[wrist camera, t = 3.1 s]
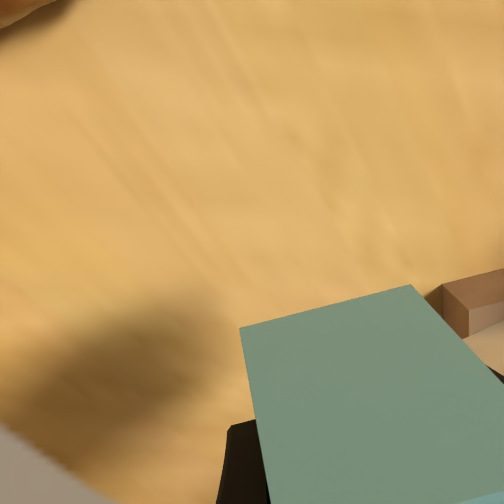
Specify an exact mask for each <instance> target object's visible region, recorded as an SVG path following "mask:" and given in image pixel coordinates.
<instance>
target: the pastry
mask: <svg viewBox="0 0 504 504" xmlns="http://www.w3.org/2000/svg"><path fill="white" fill-rule="evenodd" d="M54 1H56V0H0V28H3V27H7V26H9V25H11V24H12V23H14V22H16V21H18V20H20V19H22V18H23V17H25V16H27V15H29V14H30V13H31V12H32V11H34V10H36V9H37V8H39V7H42V6H45V5H47V4H49V3H51V2H54Z"/></svg>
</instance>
